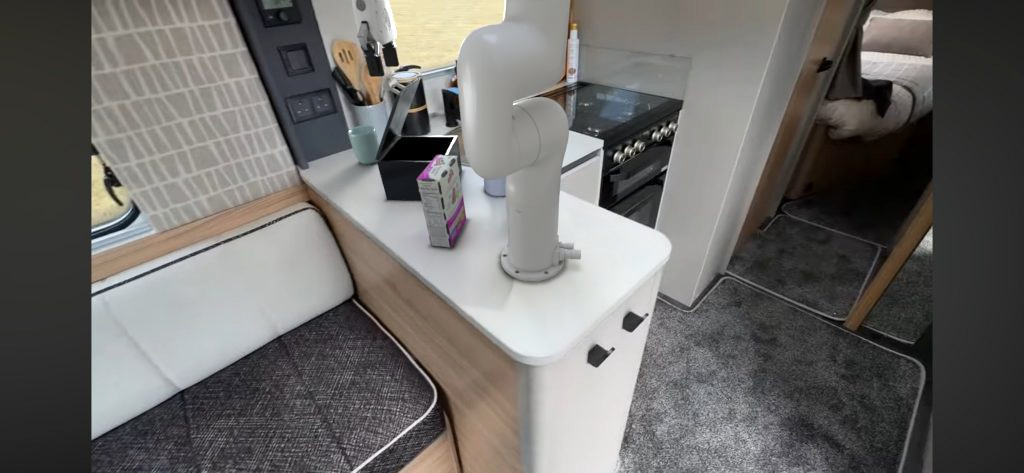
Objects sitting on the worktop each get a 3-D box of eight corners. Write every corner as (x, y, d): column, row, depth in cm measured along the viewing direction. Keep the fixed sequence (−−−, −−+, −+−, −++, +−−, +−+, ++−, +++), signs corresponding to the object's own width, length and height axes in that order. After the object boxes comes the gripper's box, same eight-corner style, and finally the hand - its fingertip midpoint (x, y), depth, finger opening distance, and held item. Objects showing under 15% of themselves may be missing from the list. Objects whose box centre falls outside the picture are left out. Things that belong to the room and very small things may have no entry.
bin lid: (421, 77, 94) (400, 65, 92) (400, 96, 80) (376, 83, 79) (399, 134, 103) (381, 125, 102) (377, 160, 90) (355, 150, 89)
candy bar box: (447, 218, 89) (436, 153, 79) (467, 220, 88) (458, 154, 78) (429, 246, 80) (415, 178, 70) (451, 249, 79) (440, 179, 69)
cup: (357, 158, 118) (348, 127, 112) (382, 154, 120) (374, 123, 114) (356, 168, 112) (347, 136, 106) (383, 164, 114) (375, 132, 108)
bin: (462, 171, 108) (457, 135, 102) (450, 201, 95) (444, 162, 89) (406, 171, 110) (398, 135, 103) (387, 200, 97) (376, 161, 90)
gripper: (366, -20, 68) (388, 80, 78) (397, -22, 82) (412, 62, 92) (326, -18, 69) (353, 81, 79) (364, -21, 83) (383, 63, 93)
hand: (385, 71), depth 85 cm, fingers open, 9 cm apart
